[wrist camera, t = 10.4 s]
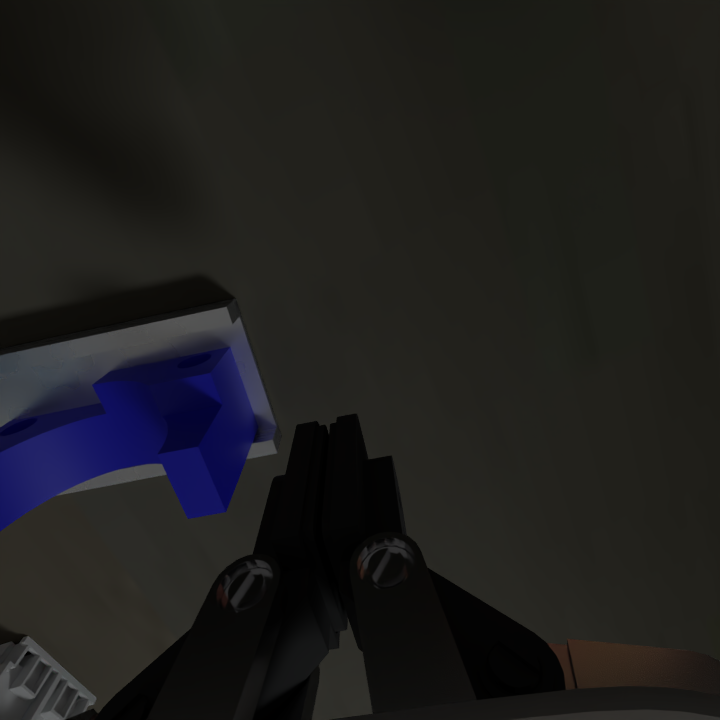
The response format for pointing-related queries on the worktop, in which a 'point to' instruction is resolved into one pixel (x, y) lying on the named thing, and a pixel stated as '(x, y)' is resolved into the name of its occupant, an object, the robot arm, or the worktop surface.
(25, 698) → the circuit breaker
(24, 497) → the blue plastic bracket
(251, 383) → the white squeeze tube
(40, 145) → the worktop surface
